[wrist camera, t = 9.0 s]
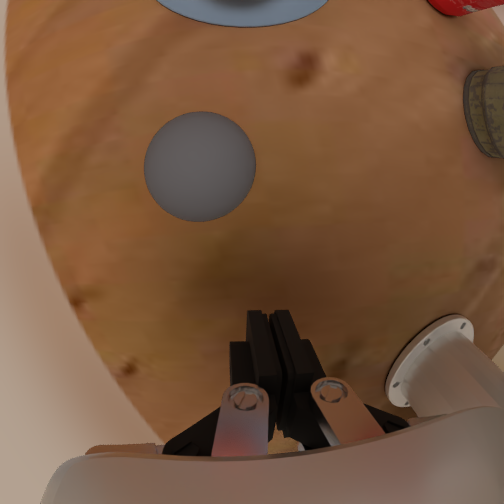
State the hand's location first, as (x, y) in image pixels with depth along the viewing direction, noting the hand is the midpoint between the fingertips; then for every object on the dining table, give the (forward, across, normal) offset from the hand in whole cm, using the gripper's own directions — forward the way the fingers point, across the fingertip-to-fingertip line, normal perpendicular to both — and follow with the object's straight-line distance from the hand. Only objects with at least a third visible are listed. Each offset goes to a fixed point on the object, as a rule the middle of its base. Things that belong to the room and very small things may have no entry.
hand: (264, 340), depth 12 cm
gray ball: (+5, +3, -7) cm, 9 cm away
